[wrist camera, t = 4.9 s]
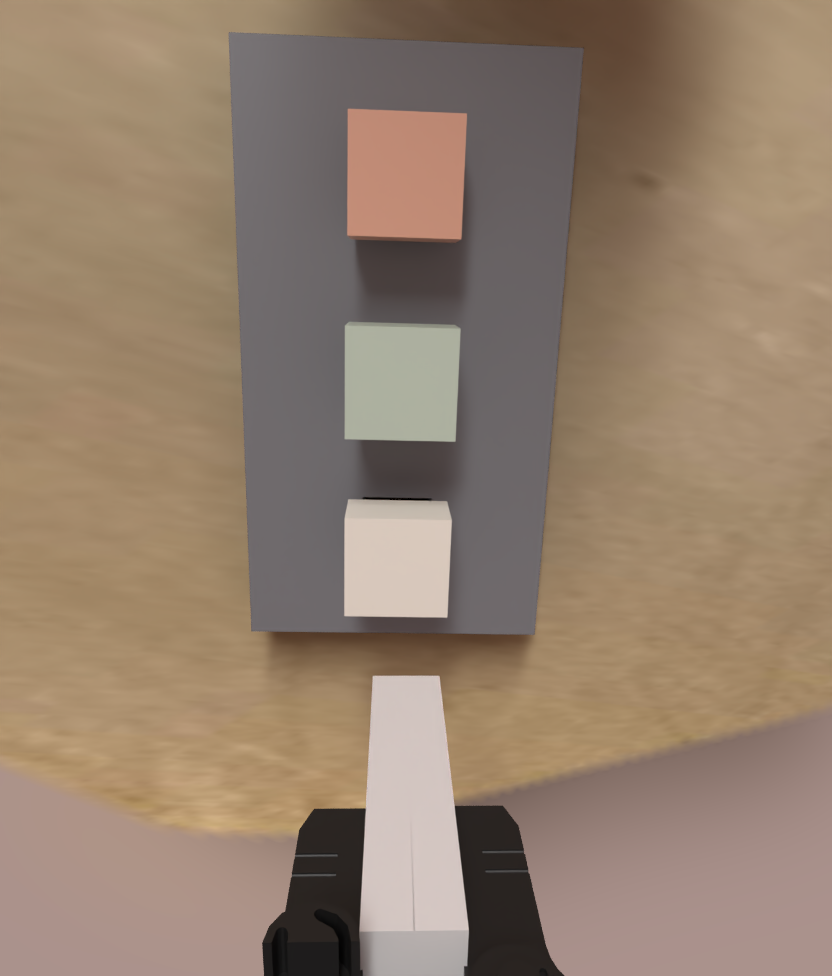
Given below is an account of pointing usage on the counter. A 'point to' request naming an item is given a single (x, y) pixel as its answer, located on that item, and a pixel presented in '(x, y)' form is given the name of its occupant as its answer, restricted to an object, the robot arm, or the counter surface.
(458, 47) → the console
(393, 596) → the key ivory
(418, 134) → the key terracotta
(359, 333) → the key sage
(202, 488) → the counter surface
